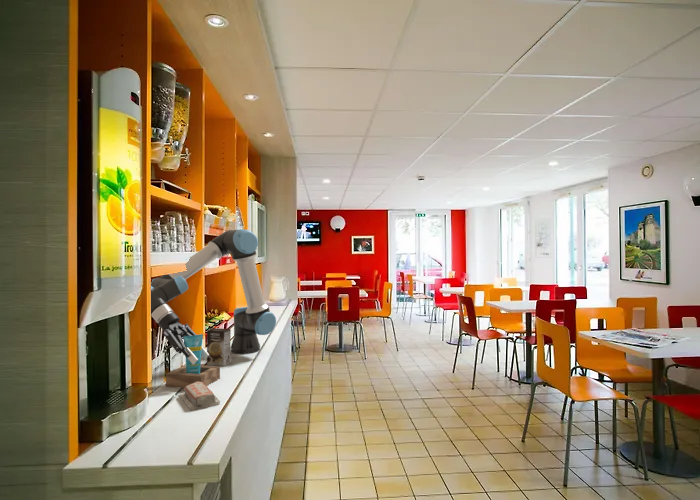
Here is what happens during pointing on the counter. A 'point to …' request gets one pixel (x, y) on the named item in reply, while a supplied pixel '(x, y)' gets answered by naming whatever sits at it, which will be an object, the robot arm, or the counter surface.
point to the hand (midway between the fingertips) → (201, 359)
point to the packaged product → (199, 396)
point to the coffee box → (218, 346)
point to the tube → (194, 352)
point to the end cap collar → (192, 376)
